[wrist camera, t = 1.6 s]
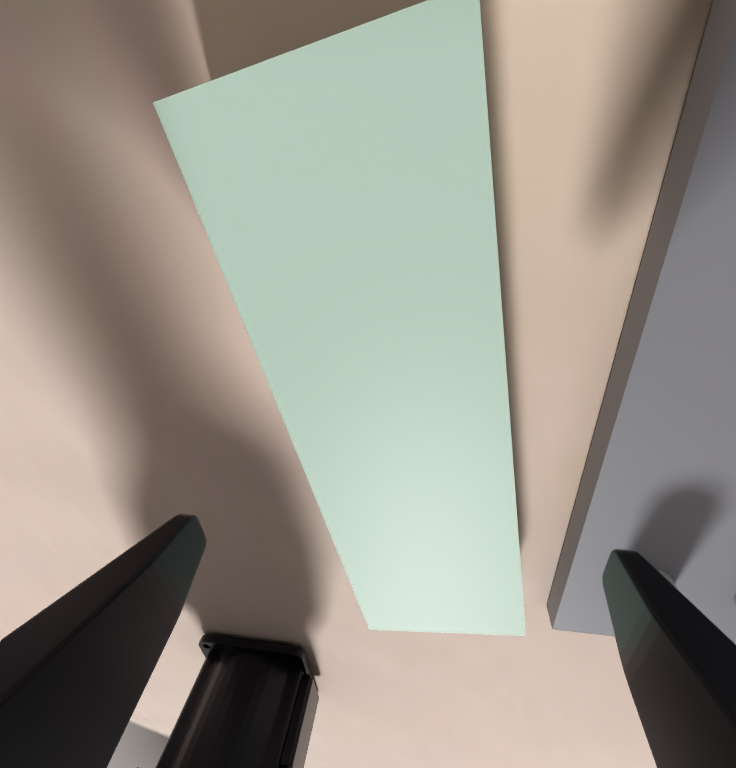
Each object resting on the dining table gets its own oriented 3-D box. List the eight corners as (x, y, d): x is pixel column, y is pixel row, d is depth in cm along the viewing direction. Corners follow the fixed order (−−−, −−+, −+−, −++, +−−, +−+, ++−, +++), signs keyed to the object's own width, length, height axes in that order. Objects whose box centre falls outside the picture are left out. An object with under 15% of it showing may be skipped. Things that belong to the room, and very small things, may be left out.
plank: (379, 563, 18) (369, 629, 16) (226, 115, 10) (152, 102, 7) (513, 562, 17) (525, 636, 14) (466, 32, 8) (477, -20, 6)
